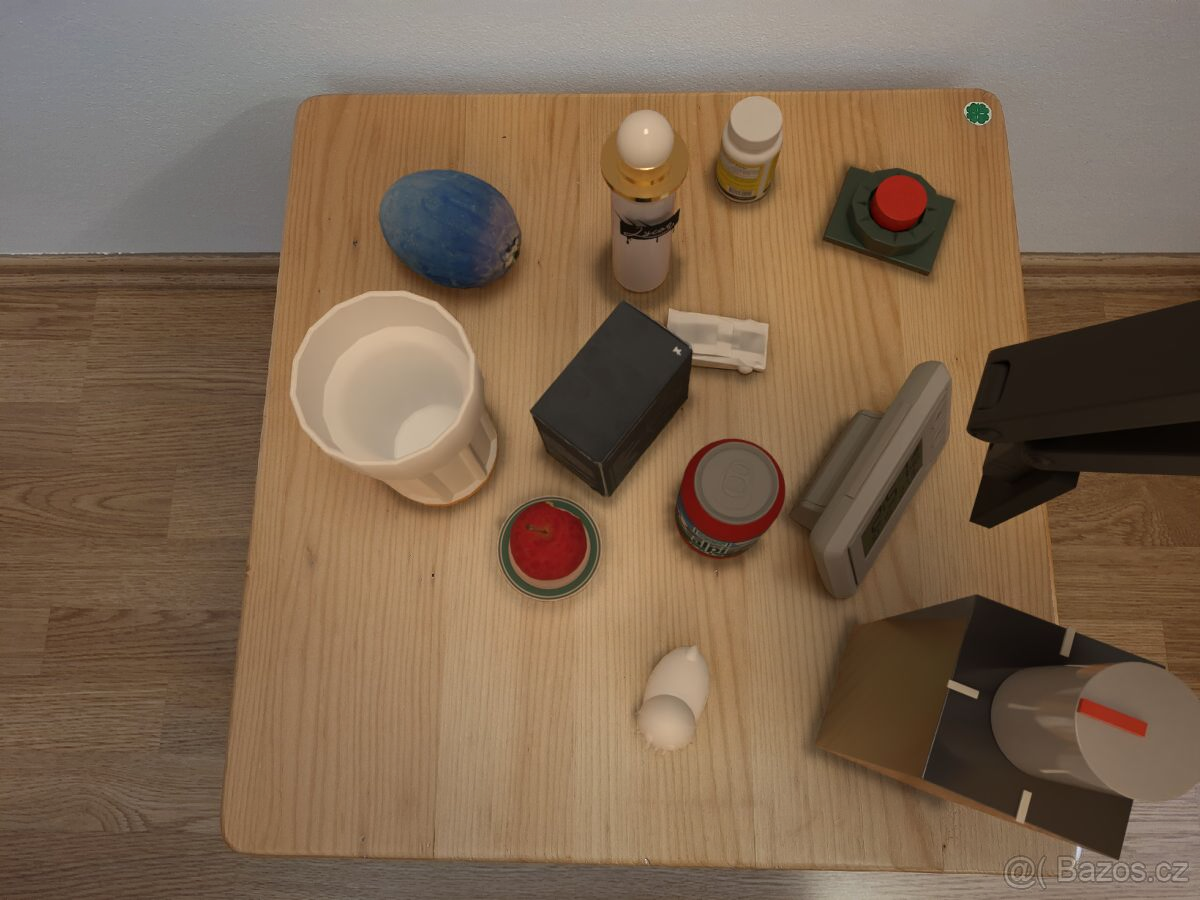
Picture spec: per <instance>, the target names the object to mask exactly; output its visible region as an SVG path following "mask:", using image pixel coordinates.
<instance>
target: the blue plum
mask: <svg viewBox="0 0 1200 900" xmlns="http://www.w3.org/2000/svg"><path fill="white" fill-rule="evenodd" d="M378 222H379V225H380V229H381V233H382V236H383V238H384V240H385V242H386V244H387V245H388V247H389V249H390V250H391V251H392V252H393V254H394V255H395V256H396V258H397V259H399V260H400V261H401V262H402V263H403V264H404V265H405V266H406V267H407V268H409V269H410V270H411V271H412V272H414V273H415V274H416V275H419V276H420V277H422V278H424V279H425V280H428V281H429V282H432V283H434V284H435V285H439V286H441V287H444V288H449V289H453V290H475V289H479V290H482V289H483V288H485V287H487V286H489V285H492V284H493V283H495V282H496V281H499V280H501V279H503V278H504V277H506V276H507V275H508V274H509V272H510V271H511V270H512V269H513V266H515V263H516V262H517V260H518V258H519V257H520V252H521V245H522V237H523V236H522V235H523V234H522V229H521V227H520V224H519V221H518V219H517V216H516V213H515V210H514V208H513V206H512V205H511V204H510V202H509V201H508V199H507V197H506V196H504V194H503V193H502V192H501V191H500V190H498V189H497V188H496V187H494V186H493V185H492V184H490V183H488V182H486V181H485V180H483V179H481V178H480V177H478V176H475V175H473V174H469V173H466V172H462V171H459V170H453V169H441V168H436V169H428V170H427V169H425V170H420V171H419V170H418V171H415V172H411V173H409V174H406V175H404V176H402V177H399V178H398V179H397V180H395V181H394V182H393V183H392V184H391V185H390V186H389V187H388V188H387V189H386V191H385V192H384V194H383V196H382V198H381V200H380V203H379V210H378ZM551 277H553V274H551Z"/></svg>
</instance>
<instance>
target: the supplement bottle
mask: <svg viewBox="0 0 1200 900" xmlns="http://www.w3.org/2000/svg"><path fill="white" fill-rule="evenodd" d="M783 121H784V119H783V113H782V111H781V109H780V107H779V105H778V104H777V103H775V101H774V100H772V99H770V98H768V97H766V96H759V95H751V96H747V97H744V98H743V99H742V98H741V99H740V100H739V101H738V102H737V103H735V105H733V108H732V109H731V112H730V114H729V119H728V121H727V122H726V123H725V125H724V127H723V130H722V134H721V139H720V146H719V151H718V159H717V164H716V165H717V166H716V171H715V182H716V185H717V187H718V189H719V191H720V192H721V193H722V194H723V195H724V196H725V197H726V198H728V199H729V200H731V201H734V202H736V203H737V202H738V203H751V202H755V201H757V200H759V199H760V198H762V197H763V196H765V195H766V193H768V191H769V190H770V188H771V186H772V182H773V179H774V176H775V173H776V169H777V165H778V161H779V158H780V157H779V156H780V154H781V149H782V146H783V142H784V133H783V129H782V127H783Z"/></svg>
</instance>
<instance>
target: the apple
mask: <svg viewBox="0 0 1200 900" xmlns="http://www.w3.org/2000/svg"><path fill="white" fill-rule="evenodd" d="M601 533H602V532H601V530H600V528H599V525H598V523H597V521H596V520H595V518H594V517H593V515H592V513H590V512H589V511H588V510H587V509H586V508H585V507H584V506H583V505H582V504H580V503H579V502H577V501H575V500H573V499H570V498H568V497H564V496H559V495H541V496H537V497H533V498H530V499H528V500H526V501H524V502H523V503H521V504H519V505H518V506H516V507H515V508H514V509H513V510H512V511H511V512H510V513H509V515H507V517H506V518H505V520H504V521H503V523H502V525H501V527H500V530H499V532H498V536H497V539H496V540H497V541H496V560H497V563H498V566H499V567H498V568H499V569H500V570H501V573H502V575H503V578H504V579H505V581H507V582H508V584H509V585H510V586H511V587H512V588H513V589H514V590H516V591H517V592H519V593H520V594H521V595H523V596H525V597H527V598H530V599H533V600H536V601H540V602H541V601H542V602H555V601H561V600H564V599H568V598H570V597H573V596H575V595H576V594H578V593H579V592H581V591H582V590H583V589H585V587H587V586H588V584H589V583H591V581H592V580H593V578H594V577H595V575H596V573H597V572H598V569H599V567H600V564H601V562H602V556H603V539H602V534H601Z"/></svg>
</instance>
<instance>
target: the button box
mask: <svg viewBox="0 0 1200 900" xmlns="http://www.w3.org/2000/svg"><path fill="white" fill-rule="evenodd" d="M896 175H903V176H908V177H911V178H913V179H915V180H917V181H918V182H919V183H920V184H921V185H922V186H923V188H924V189H925V191H926V194H927V204H926V207H925V209H924V211H923V213H922V214H921V216H920V217H919V219H918V221H917V222H916V223H915V224H914V225H913V226H912V227H910V228H908V229H906V230H903V231H891V230H888V229H885V228H883V227H881V226H880V225H879V224H878V223H877V222H876V221H875V220H874V218H873V216H872V214H871V210H870V205H871V201H872V198H873V196H874V194H875V192H876V190H877V188H878V187H879V185H880V184H881V183H882V182H883V181H884V180H885V179H887V178H889V177H892V176H896ZM955 203H956V200H955V199H954V198H949V197H947V196H944V195H941V194H938V193H937V190H936V189H935V188H934V187H933V185H931V184H930V183H929V181H927V180H926V179H925V177H923V176H922V175H921V174H920V173H919V174H918V173H915V172H913V171H909V170H907V169H904V168H900V167H893V168H886V169H879V170H875V171H873V172H871V171H868V170H865V169H863V168H858V167H856V166H854V165H850V167H849V169H848V170H847V174H846V176H845V179H844V182H843V185H842V188H841V190H840V193H839V195H838V198H837V200H836V202H835V206H834V209H833V211H832V214H831V216H830V219H829V221H828V224H827V227H826V229H825V232H824V234H823V237H822V240H823V241H825V242H828V243H831V244H835V245H837V246H840V247H843V248H845V249H848V250H852V251H855V252H858V253H860V254H863V255H866V256H868V257H873V258H875V259H878V260H881V261H884V262H886V263H890V264H893V265H896V266H899V267H901V268H904V269H908V270H910V271H914V272H916V273H919V274H922V275H924V276H929V275H930V274H931V273H932V270H933V268H934V264H935V261H936V258H937V256H938V253H939V250H940V246H941V244H942V242H943V241H942V240H943V237H944V235H945V232H946V229H947V226H948V224H949V220H950V218H951V215H952V211H953V209H954V206H955Z"/></svg>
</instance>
